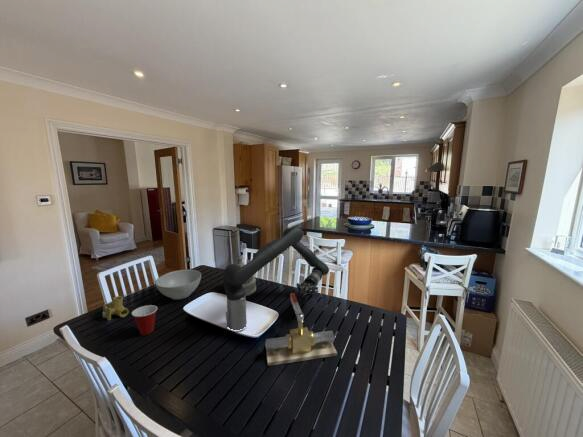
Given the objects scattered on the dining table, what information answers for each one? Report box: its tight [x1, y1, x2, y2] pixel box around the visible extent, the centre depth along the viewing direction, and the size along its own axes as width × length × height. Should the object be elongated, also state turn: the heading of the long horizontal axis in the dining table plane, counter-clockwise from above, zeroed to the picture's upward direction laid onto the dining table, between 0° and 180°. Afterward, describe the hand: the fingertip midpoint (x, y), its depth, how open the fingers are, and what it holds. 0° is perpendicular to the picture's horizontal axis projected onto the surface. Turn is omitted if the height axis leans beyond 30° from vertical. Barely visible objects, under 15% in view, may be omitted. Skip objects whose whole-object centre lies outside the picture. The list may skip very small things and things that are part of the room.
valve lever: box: [289, 292, 305, 324], centre depth 109 cm, size 20×3×3 cm, turn 11°
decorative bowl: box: [154, 269, 202, 301], centre depth 151 cm, size 27×27×12 cm
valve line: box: [265, 322, 335, 354], centre depth 102 cm, size 30×7×13 cm, turn 101°
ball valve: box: [101, 295, 130, 321], centre depth 129 cm, size 13×10×10 cm
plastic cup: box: [131, 304, 158, 336], centre depth 115 cm, size 11×11×12 cm
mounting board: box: [265, 342, 338, 367], centre depth 104 cm, size 30×12×3 cm, turn 101°
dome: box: [236, 254, 257, 297], centre depth 156 cm, size 20×25×20 cm
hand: (300, 295), depth 120 cm, fingers closed
